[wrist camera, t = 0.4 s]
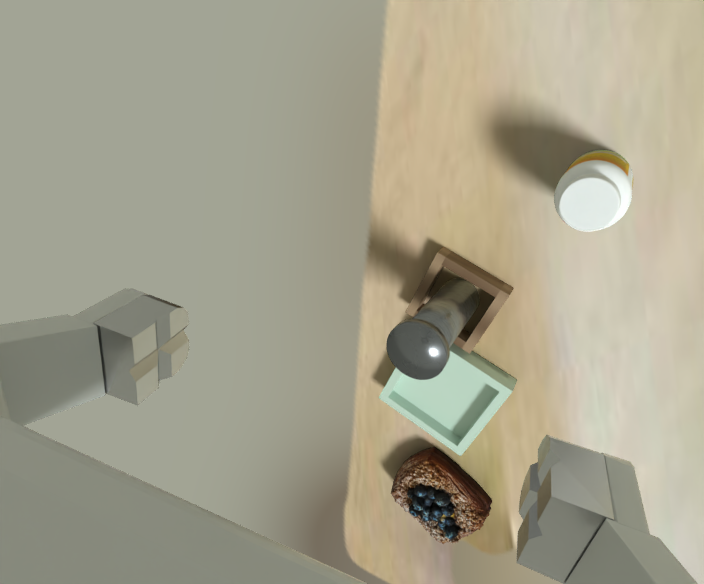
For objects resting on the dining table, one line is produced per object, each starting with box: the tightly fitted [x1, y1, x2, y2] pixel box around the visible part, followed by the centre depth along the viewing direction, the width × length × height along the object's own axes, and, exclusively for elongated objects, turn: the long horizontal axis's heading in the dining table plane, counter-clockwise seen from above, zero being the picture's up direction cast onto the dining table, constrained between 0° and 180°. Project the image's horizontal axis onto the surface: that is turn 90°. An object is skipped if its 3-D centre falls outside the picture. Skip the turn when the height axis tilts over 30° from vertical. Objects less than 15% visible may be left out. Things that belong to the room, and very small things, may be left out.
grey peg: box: [387, 278, 480, 380], centre depth 48 cm, size 6×6×13 cm
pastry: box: [391, 447, 492, 544], centre depth 62 cm, size 11×12×6 cm
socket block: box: [406, 247, 513, 354], centre depth 52 cm, size 8×8×2 cm
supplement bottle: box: [554, 150, 633, 232], centre depth 38 cm, size 5×5×10 cm
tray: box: [379, 343, 517, 456], centre depth 57 cm, size 12×12×2 cm
